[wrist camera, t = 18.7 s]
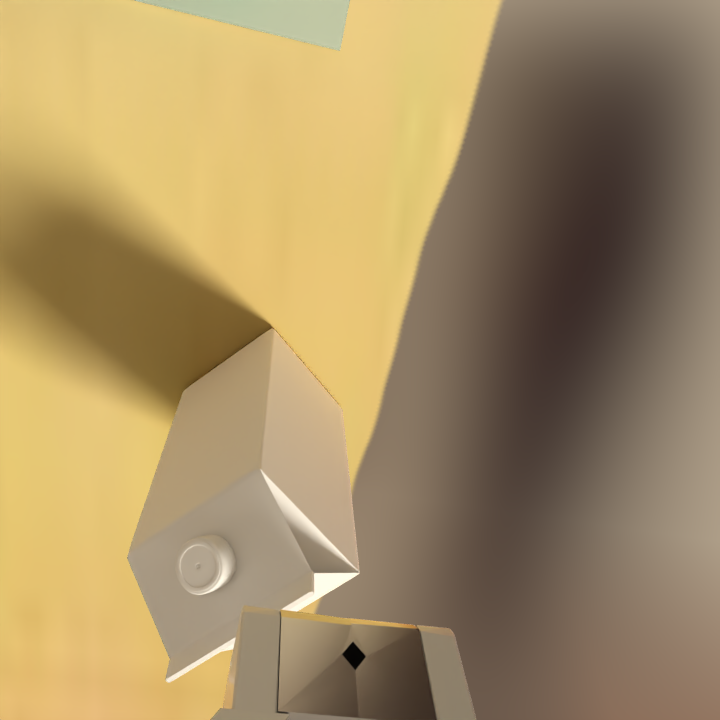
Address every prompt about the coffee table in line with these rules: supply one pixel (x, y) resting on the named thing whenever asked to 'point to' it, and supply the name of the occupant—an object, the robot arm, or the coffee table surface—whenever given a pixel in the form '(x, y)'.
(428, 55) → the coffee table surface
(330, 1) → the runner mat
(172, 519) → the milk carton
